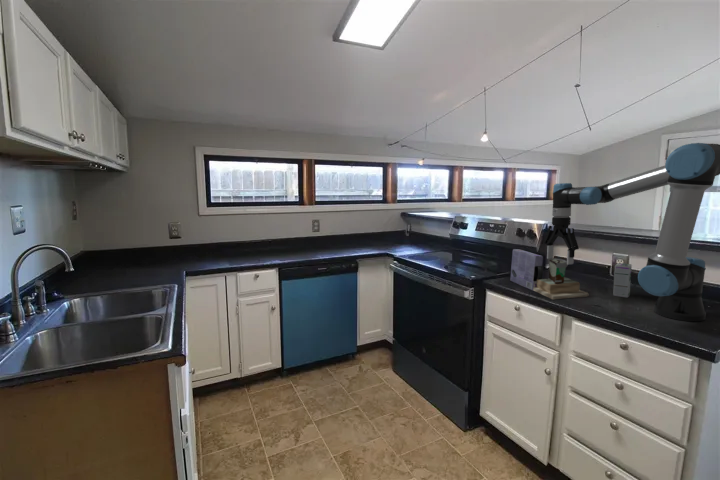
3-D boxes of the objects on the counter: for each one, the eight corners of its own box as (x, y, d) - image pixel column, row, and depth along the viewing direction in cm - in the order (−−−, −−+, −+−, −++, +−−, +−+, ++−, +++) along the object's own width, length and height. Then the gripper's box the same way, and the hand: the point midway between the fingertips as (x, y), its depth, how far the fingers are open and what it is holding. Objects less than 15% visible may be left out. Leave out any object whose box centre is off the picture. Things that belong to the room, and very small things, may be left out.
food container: (570, 284, 162) (572, 263, 161) (556, 284, 163) (557, 263, 162) (561, 277, 174) (562, 258, 172) (547, 277, 175) (548, 257, 174)
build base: (588, 296, 163) (589, 284, 162) (552, 299, 160) (553, 287, 159) (561, 285, 180) (561, 274, 180) (528, 288, 178) (529, 277, 177)
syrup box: (628, 298, 159) (631, 266, 157) (612, 295, 163) (614, 264, 161) (629, 294, 163) (632, 264, 161) (614, 292, 167) (616, 262, 165)
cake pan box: (542, 290, 174) (544, 255, 171) (533, 291, 173) (535, 256, 170) (517, 280, 193) (519, 248, 190) (509, 281, 192) (510, 249, 189)
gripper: (536, 215, 176) (535, 257, 179) (573, 219, 152) (571, 267, 155) (550, 214, 177) (549, 256, 180) (589, 218, 153) (587, 266, 156)
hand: (559, 261), depth 168 cm, fingers open, 13 cm apart
